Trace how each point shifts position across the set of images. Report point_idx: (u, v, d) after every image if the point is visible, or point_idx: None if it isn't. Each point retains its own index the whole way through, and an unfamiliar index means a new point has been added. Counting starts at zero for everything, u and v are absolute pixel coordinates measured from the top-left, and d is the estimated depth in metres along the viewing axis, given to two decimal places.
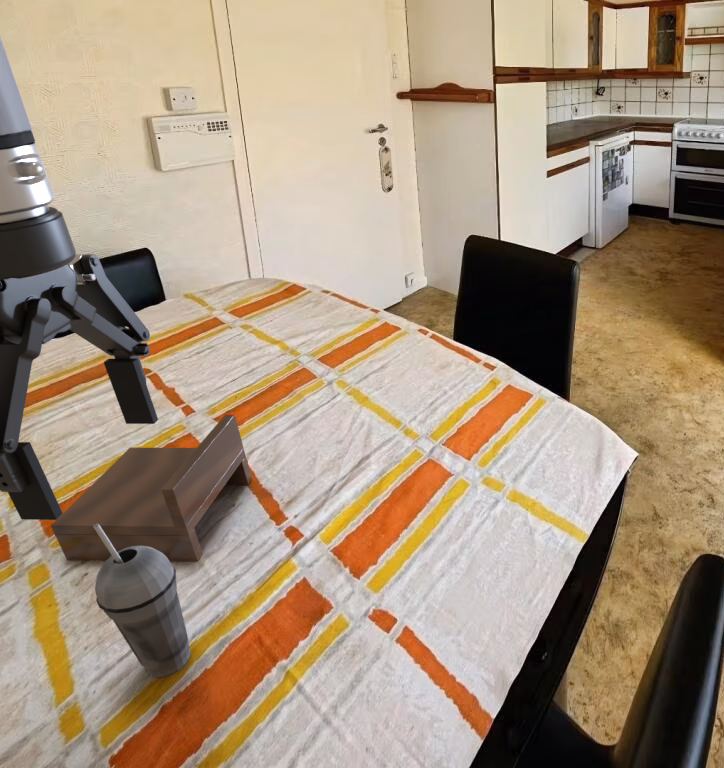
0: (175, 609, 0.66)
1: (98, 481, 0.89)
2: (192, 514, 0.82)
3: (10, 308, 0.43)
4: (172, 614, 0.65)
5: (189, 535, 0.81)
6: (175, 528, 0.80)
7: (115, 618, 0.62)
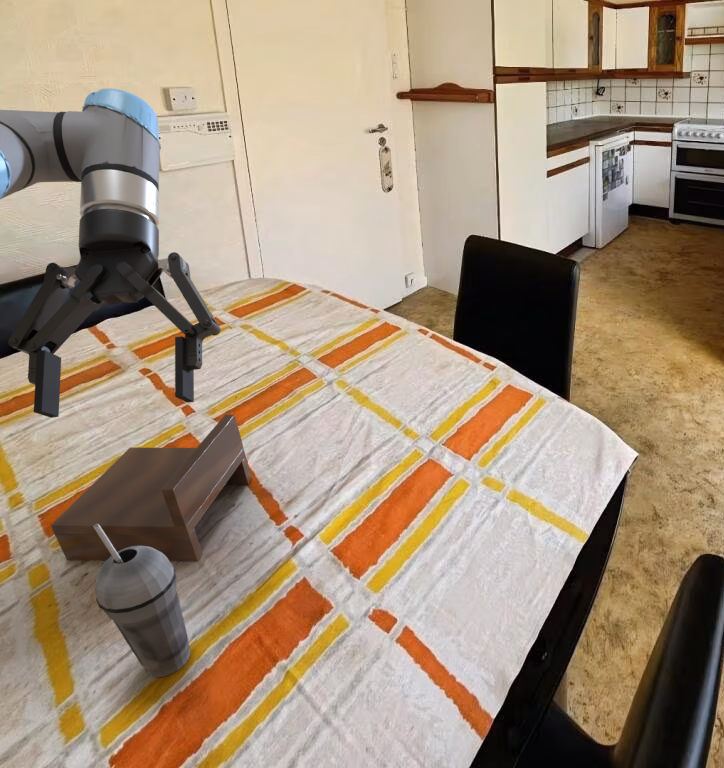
0: (175, 609, 0.66)
1: (98, 481, 0.89)
2: (192, 514, 0.82)
3: None
4: (172, 614, 0.65)
5: (189, 535, 0.81)
6: (175, 528, 0.80)
7: (115, 618, 0.62)
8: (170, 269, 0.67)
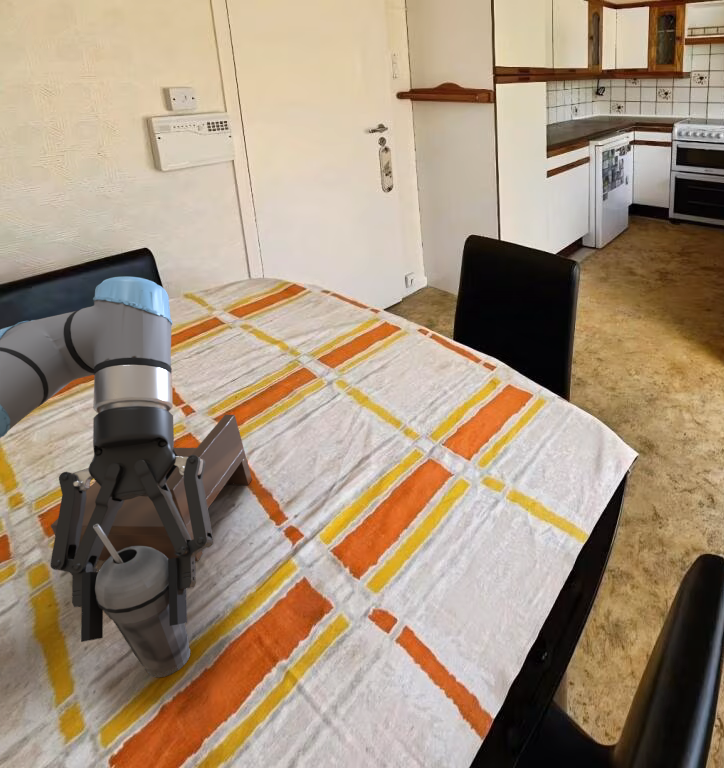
0: None
1: None
2: None
3: None
4: None
5: None
6: None
7: (115, 618, 0.62)
8: (185, 472, 0.67)
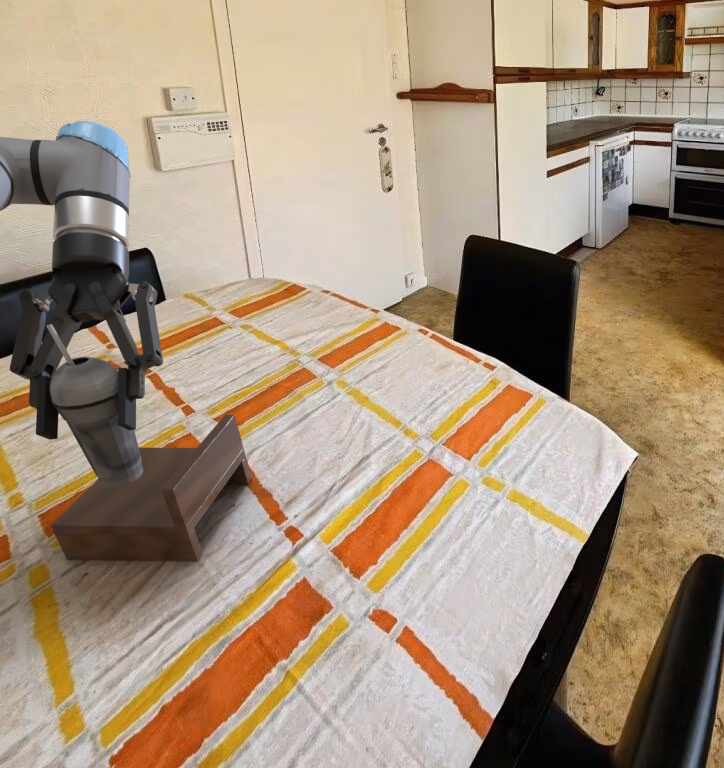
0: None
1: (98, 481, 0.89)
2: (192, 514, 0.82)
3: None
4: None
5: (189, 535, 0.81)
6: (175, 528, 0.80)
7: (67, 417, 0.67)
8: (136, 295, 0.72)
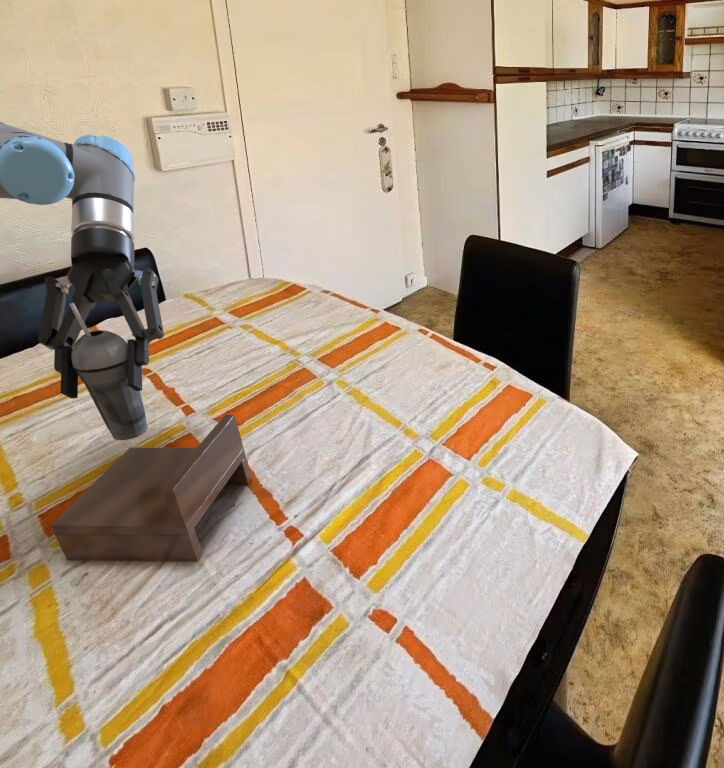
0: None
1: (98, 481, 0.89)
2: (192, 514, 0.82)
3: None
4: None
5: (189, 535, 0.81)
6: (175, 528, 0.80)
7: (86, 379, 0.82)
8: (141, 280, 0.87)
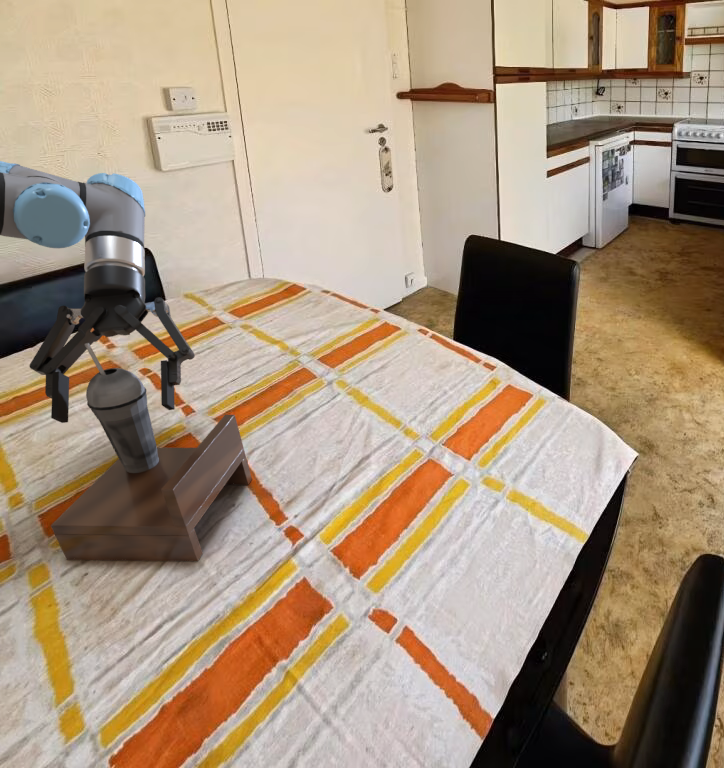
0: (146, 419, 0.89)
1: (98, 481, 0.89)
2: (192, 514, 0.82)
3: None
4: (143, 421, 0.88)
5: (189, 535, 0.81)
6: (175, 528, 0.80)
7: (100, 416, 0.85)
8: (156, 310, 0.90)
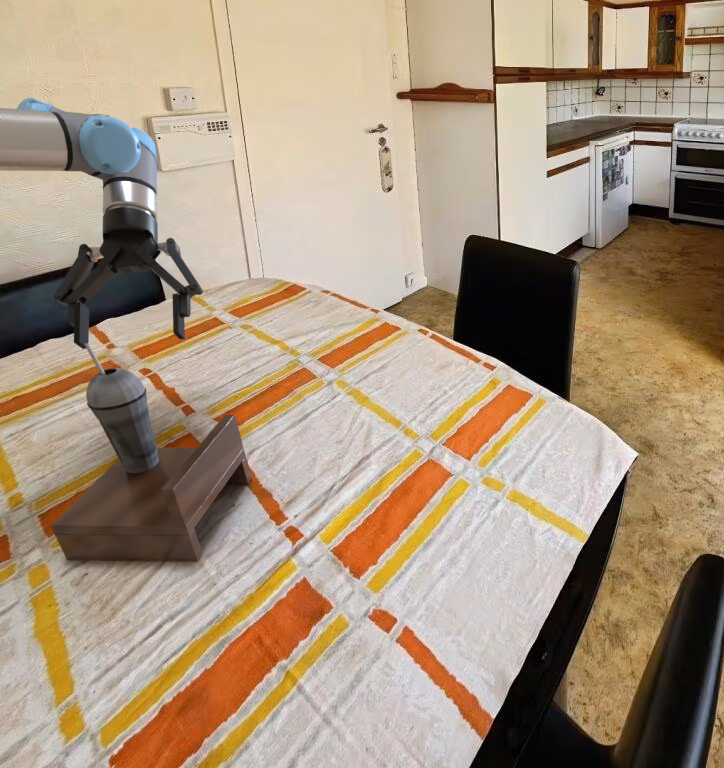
0: (146, 419, 0.89)
1: (98, 481, 0.89)
2: (192, 514, 0.82)
3: None
4: (143, 421, 0.88)
5: (189, 535, 0.81)
6: (175, 528, 0.80)
7: (100, 416, 0.85)
8: (168, 249, 0.98)
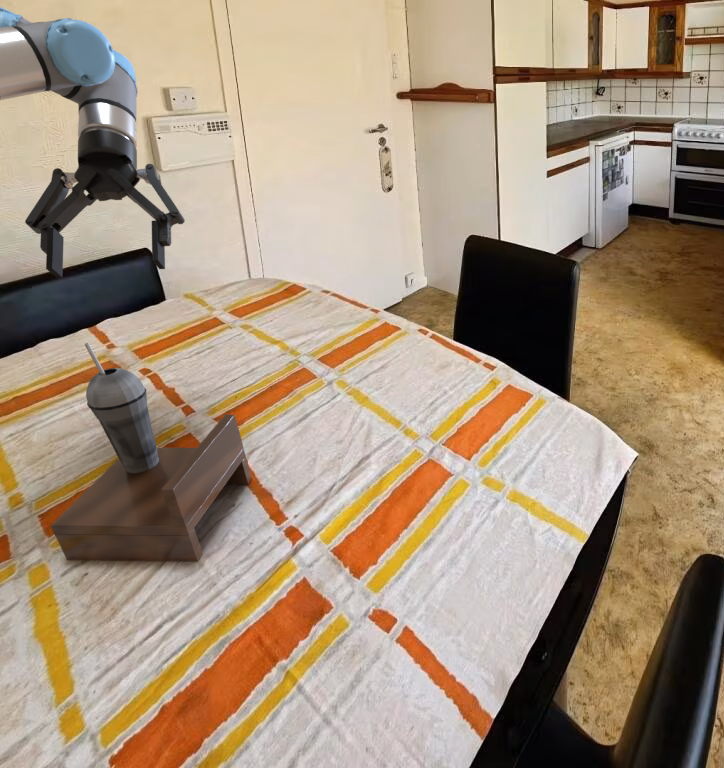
0: (146, 419, 0.89)
1: (98, 481, 0.89)
2: (192, 514, 0.82)
3: None
4: (143, 421, 0.88)
5: (189, 535, 0.81)
6: (175, 528, 0.80)
7: (100, 416, 0.85)
8: (147, 175, 0.93)
